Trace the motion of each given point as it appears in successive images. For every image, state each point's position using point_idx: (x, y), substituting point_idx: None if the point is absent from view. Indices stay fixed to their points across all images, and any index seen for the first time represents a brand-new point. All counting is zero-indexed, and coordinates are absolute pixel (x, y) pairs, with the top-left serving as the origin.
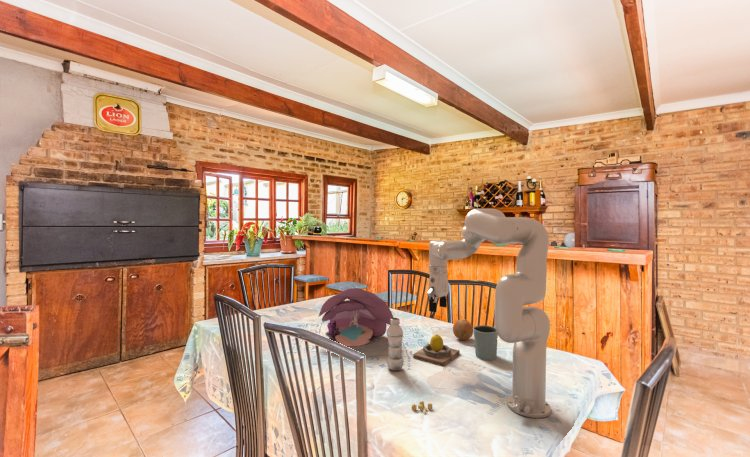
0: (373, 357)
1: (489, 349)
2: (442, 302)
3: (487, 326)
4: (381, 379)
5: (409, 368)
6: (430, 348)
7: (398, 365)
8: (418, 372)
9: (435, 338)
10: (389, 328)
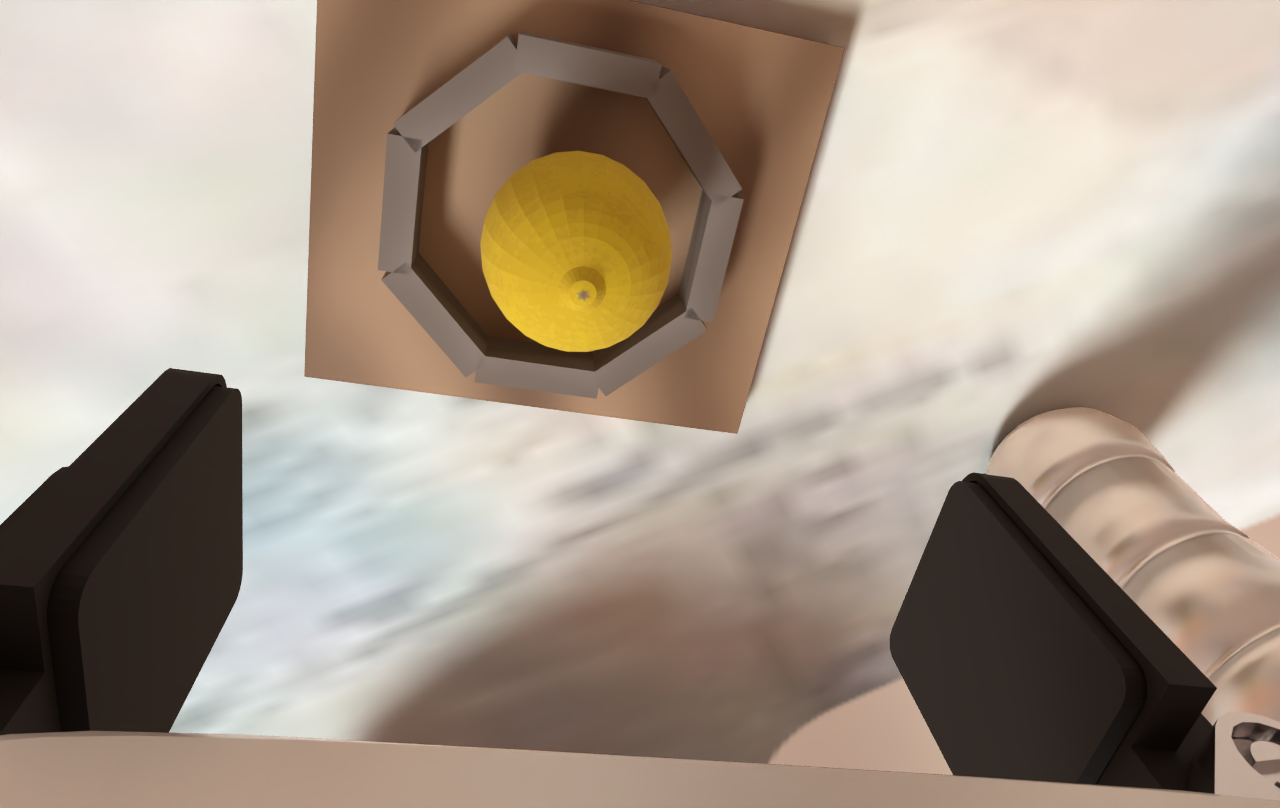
0: (851, 690)
1: None
2: (181, 599)
3: None
4: (1247, 469)
5: (989, 356)
6: (479, 327)
7: (1145, 437)
8: (1057, 249)
9: (652, 277)
10: None
